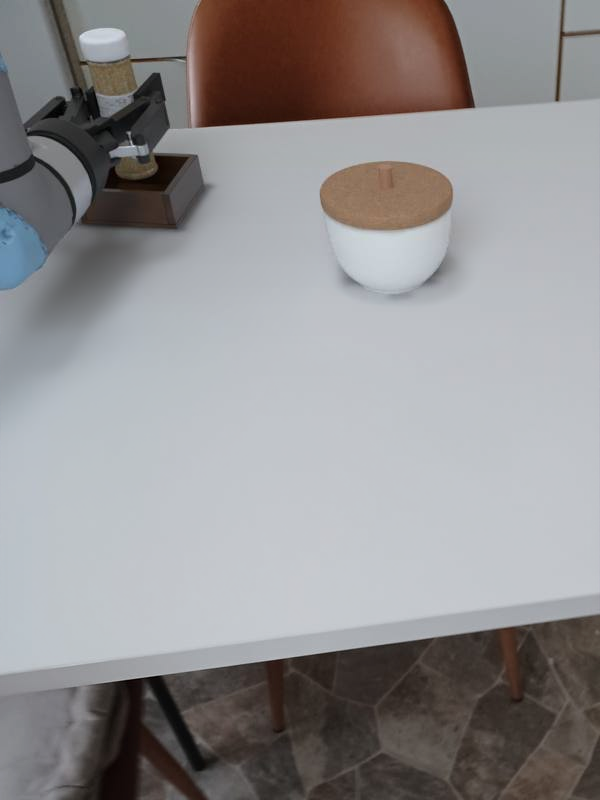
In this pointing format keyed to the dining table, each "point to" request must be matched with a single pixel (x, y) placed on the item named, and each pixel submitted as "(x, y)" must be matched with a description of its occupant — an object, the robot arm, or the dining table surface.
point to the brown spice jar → (114, 85)
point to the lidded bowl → (388, 223)
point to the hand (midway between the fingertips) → (136, 85)
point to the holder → (149, 195)
